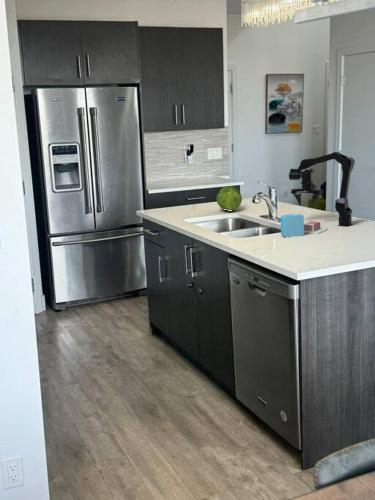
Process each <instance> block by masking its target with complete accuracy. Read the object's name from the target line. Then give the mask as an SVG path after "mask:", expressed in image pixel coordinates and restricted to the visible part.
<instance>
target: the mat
mask: <svg viewBox="0 0 375 500" xmlns="http://www.w3.org/2000/svg"><path fill="white" fill-rule="evenodd" d="M326 230H327V231H328V230H329V228H321V227H320V229H319V230H316V231H314V232H309V231H304V234H313V235H315V234H316V235H319V234H321V233H323V231H324V232H327V231H326ZM318 233H319V234H318Z"/></svg>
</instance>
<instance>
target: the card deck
mask: <svg viewBox="0 0 375 500" xmlns="http://www.w3.org/2000/svg"><path fill="white" fill-rule="evenodd" d="M320 228H321V221H309V222H304V231H309V232H314V231H316V230H319V229H320Z"/></svg>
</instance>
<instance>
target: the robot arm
mask: <svg viewBox="0 0 375 500" xmlns="http://www.w3.org/2000/svg"><path fill="white" fill-rule="evenodd" d="M331 160H335V161H336V162H337V163H338V164H341V171H342V177H341V184H340V191H339V198H337V199H336V200H334V201H335V205H334V208H335V211H336V212H337V213H338V225H337V226H338V227H339V226H340V227H350V226H353V223H352V222H353V221H352V220H353V219H352V214H353V209H351V208H350V206H349V198H348V195H349V194H348V193H349V187H350V180H351V173H352V172H353V169H354V166H355V162H356V161H355V159H354V158H353V157H350V156H347V155H345V154H342V153H340V152H339V151H334V152H331V153H328V154H325V155H322V156H318V157H309V158H305V159H302V160H301V161H300V165H299V166H298V167H297V168H290V169H289V172H288V173H289V174H288V179H289V180H290V181H300V180H301V181H300V184H301V188H299V187H297V188H296V187H295V188H292V189H291V190H290V194H291V195H293V196H294V198H295V199H296V201H297V203H298V205H299V206H301V205H302V194H312V196H311V197H312V206H313V207H315V206H316V203H317V200H318V198H319V196H321V195H323V194H324V190H323V189H322V188H317V184H315V183H314V182H313V181H312V173H315V172H316V171H315V170H314V169H313V168H312V167H314V166H316V165H318V164H322V163H325V162H329V161H331Z"/></svg>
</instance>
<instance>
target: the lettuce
mask: <svg viewBox="0 0 375 500" xmlns="http://www.w3.org/2000/svg"><path fill="white" fill-rule="evenodd" d="M242 200H243V196H242V194H241V192H240V191H239V190H238V189H237V188H236V187H234V186H231V185H226V186H224V187H222V188H221V189H220V190H219V191H218V194H216V203H217V205H218V206H219V208H221V209H222V210H223V209H227V210H234V209H236V210H238V208H239V207H240V206H241V204H242V202H243V201H242ZM234 211H235V210H234Z"/></svg>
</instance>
